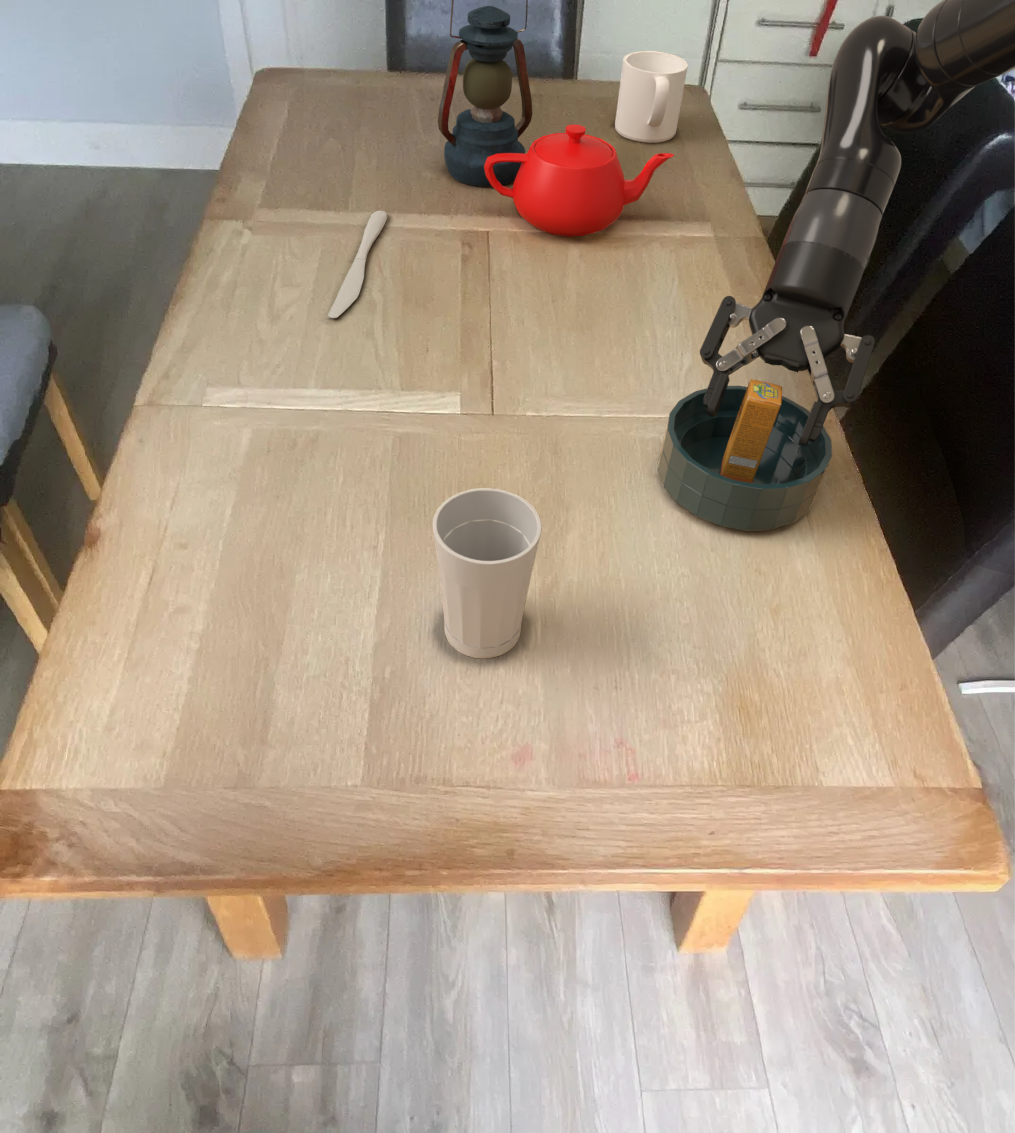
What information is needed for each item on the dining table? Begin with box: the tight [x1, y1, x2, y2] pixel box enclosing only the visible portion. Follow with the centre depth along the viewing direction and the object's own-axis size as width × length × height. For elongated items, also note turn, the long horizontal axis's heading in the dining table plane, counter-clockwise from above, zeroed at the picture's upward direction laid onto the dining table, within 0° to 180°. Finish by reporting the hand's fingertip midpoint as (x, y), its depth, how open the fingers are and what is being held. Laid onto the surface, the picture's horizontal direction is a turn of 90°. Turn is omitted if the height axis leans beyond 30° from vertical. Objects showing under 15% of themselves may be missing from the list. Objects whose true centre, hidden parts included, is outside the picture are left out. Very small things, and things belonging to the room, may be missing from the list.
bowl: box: [657, 385, 833, 532], centre depth 87 cm, size 15×15×6 cm
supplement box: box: [720, 378, 783, 483], centre depth 85 cm, size 3×4×10 cm
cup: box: [432, 487, 543, 659], centre depth 70 cm, size 8×8×12 cm
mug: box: [614, 50, 689, 144], centre depth 143 cm, size 13×10×10 cm
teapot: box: [484, 124, 675, 238], centre depth 121 cm, size 25×16×12 cm, turn 90°
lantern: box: [437, 0, 534, 188], centre depth 121 cm, size 14×12×35 cm
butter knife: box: [327, 210, 388, 319], centre depth 114 cm, size 1×27×3 cm
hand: (756, 429), depth 81 cm, fingers open, 8 cm apart
